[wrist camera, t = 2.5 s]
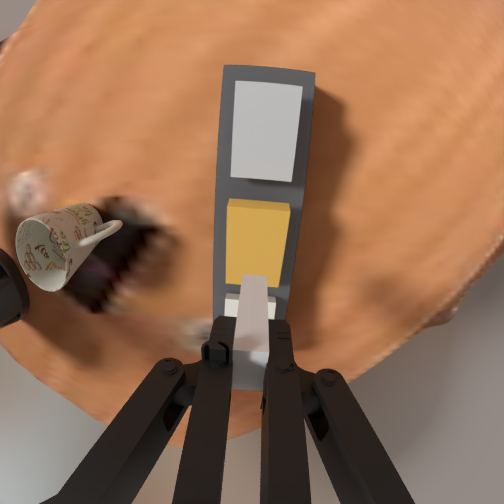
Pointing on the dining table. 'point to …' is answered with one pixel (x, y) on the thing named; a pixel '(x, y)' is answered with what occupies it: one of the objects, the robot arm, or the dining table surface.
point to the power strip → (259, 187)
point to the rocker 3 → (233, 302)
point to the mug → (60, 243)
